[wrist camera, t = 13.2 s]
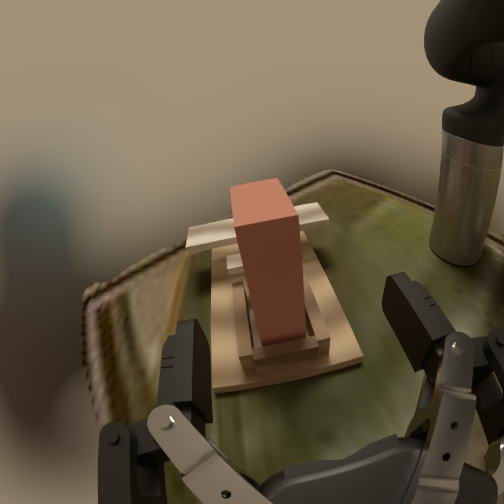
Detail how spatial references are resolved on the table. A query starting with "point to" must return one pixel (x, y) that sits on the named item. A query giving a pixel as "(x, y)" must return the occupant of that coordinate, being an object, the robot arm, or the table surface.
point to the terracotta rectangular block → (271, 258)
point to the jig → (244, 323)
